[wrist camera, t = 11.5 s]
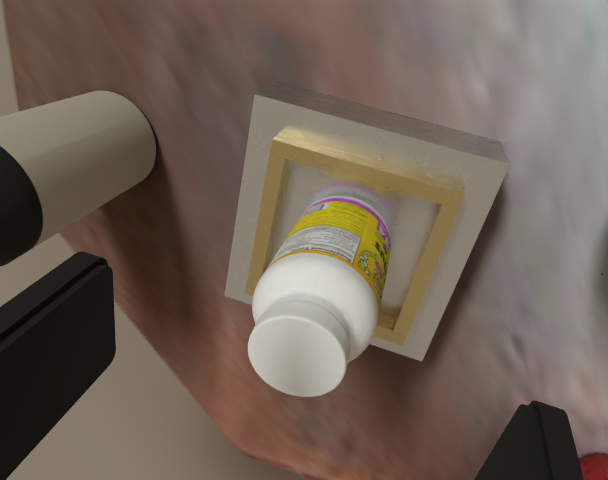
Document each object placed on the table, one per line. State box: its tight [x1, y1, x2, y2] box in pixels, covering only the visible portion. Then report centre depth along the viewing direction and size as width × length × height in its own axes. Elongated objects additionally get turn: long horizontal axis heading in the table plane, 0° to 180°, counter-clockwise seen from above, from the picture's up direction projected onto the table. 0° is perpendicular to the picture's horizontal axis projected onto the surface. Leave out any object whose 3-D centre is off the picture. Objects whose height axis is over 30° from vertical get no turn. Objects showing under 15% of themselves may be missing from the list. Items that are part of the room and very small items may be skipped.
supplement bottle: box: [248, 196, 391, 397], centre depth 27 cm, size 7×7×13 cm
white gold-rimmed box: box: [225, 82, 510, 361], centre depth 35 cm, size 16×18×6 cm
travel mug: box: [0, 91, 156, 266], centre depth 32 cm, size 8×8×18 cm
